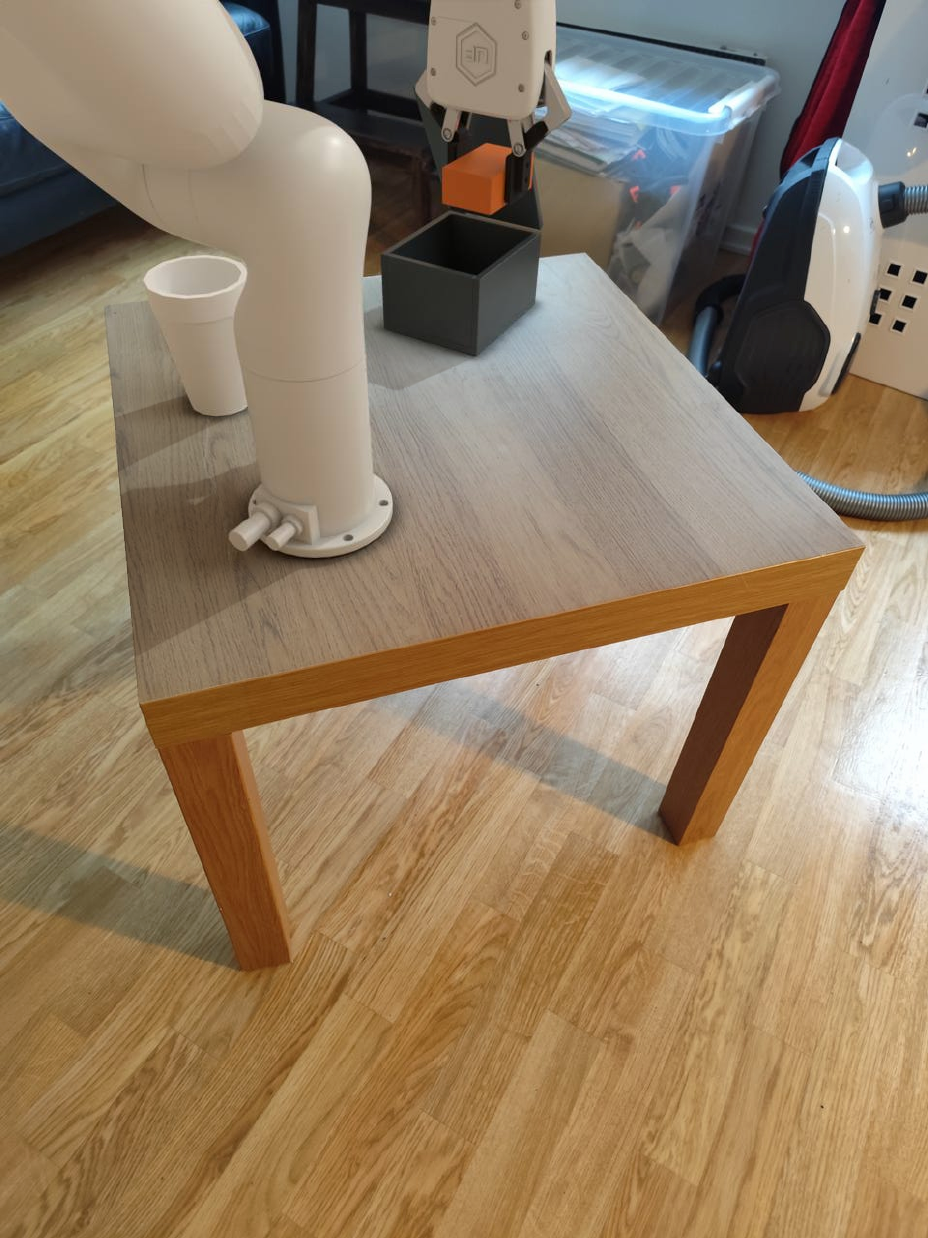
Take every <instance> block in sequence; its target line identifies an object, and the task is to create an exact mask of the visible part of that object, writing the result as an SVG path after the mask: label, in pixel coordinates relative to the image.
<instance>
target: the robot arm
mask: <svg viewBox="0 0 928 1238" xmlns="http://www.w3.org/2000/svg"><path fill="white" fill-rule="evenodd" d="M556 7H557V6H556V0H431V2H430V11H429V22H428V37H427V59H426V68H425V70H424V71H423V72H422V74H421V76H420V77H419V79H418V81H416V82H417V84H416V86H415V91H416V93H417V95H418V96H419V97H420V99H421V100H422V101H423V102H424V104H425V105H426V106H427V107H428V108H430V112H431V114H432V116H433V117H434V119H435V121H436V122H437V124H438V125H439V127H440V128H441V130H442V137H443V139H444V140H445V141H447V165H448V164H450V163H452V162H453V161H455V160H457V159H459V158H461V157H462V156H464V155H466V154H468V153H470V152H471V151H473V141H474V140H473V138H472V134H468V128H469V124H470V120H471V116H472V113H477V114H482V115H487V116H492V117H498V118H503V119H507V122H508V128H509V134H510V140H511V146H512V153H511V154H509V155H507V156H506V161H505V170H506V175H505V194H504V201H505V203H507V204H513V203H514V202H516V201H517V200H519V199H520V198H522V197H523V196H524V195H525V193H526V191H527V190H528V188H529V185H530V174H531V160H532V153H533V150H534V149H536V148H537V147H538V145H539V144H540V143H542V141H543V140H545V139H546V137H548V136H549V134H551V133H552V132H553V131H554V130H556V129H557V128H559V127H560V126H561V125H563V124H564V123H566V122H568V121H569V119H571V118H572V116H573V115H572V114H573V111H572V108H571V106H570V104H569V102H568V100H567V97H566V96H565V94H564V91H563V89H562V87H561V85H560V83H559V81H558V79H557V77H556V74H555V72H556V71H555V70H556V51H557V49H556V47H557V43H556V42H557V15H556V14H557V11H556V10H557V9H556ZM264 96H265V94H264V86H263V81H262V77H261V71H260V69H259V67H258V63H257V61H256V58H255V56H254V53H253V51H252V49H251V47H250V45H249V43H248V41H247V40H246V38H245V36H244V35H243V33H242V31H241V30H240V28H239V26H238V25H237V23H236V22H235V20H234V19H233V17H232V16H231V14H230V13H229V11H228V10H227V9H226V8H225V7H224V5H223V4H222V3H221V1H220V0H0V102H1V103H2V105H4V107H5V108H6V110H7V111H8V112H9V113H10V114H11V116H12V117H13V118H14V119H15V120H16V121H17V122H18V123H19V124H20V125H21V126H22V127H23V128H24V129H25V130H26V131H27V132H28V133H29V134H30V135H32V137H34V138H35V139H37V140H38V141H39V142H41V143H42V144H43V145H44V146H46V147H47V148H48V149H50V151H52V152H53V153H55V154H56V155H57V156H58V157H60V159H62V160H64V161H65V162H66V163H67V164H69V165H70V166H72V167H73V168H74V169H76V170H77V171H78V172H79V173H80V174H82V175H83V176H85V177H86V178H87V179H88V180H90V181H91V182H93V184H95V185H96V186H98V187H99V188H100V189H102V191H104V192H106V193H107V194H109V195H110V196H111V197H112V198H114V199H115V200H116V201H117V202H119V203H121V205H123V206H124V207H126V208H127V209H128V210H130V211H131V212H132V213H134V214H136V216H138V217H140V218H141V219H143V220H144V221H146V222H147V223H149V224H151V225H152V226H154V227H156V228H157V229H159V230H161V231H163V232H166V233H167V234H170V235H172V236H175V237H179V238H182V239H183V240H187V241H190V242H194V243H197V244H200V245H202V246H206V247H208V248H212V249H214V250H218V251H221V252H223V253H226V254H228V255H230V256H233V257H235V258H239V259H241V261H243V262H244V264H245V268H246V270H247V278H246V282H245V285H244V288H243V290H242V293H241V295H240V297H239V299H238V302H237V305H236V308H235V312H234V322H233V323H234V337H235V343H236V349H237V355H238V359H239V362H240V367H241V373H242V378H243V384H244V389H245V394H246V400H247V405H248V406H247V411H248V416H249V421H250V428H251V432H252V438H253V443H254V448H255V453H256V454H255V455H256V459H257V460H256V461H257V464H258V472H259V475H260V481H261V483H260V484H259V485H258V486H257V488H256V489H255V490H254V491H253V493H252V495H251V497H250V499H249V502H248V506H247V511H248V518H247V519H245V520H243V521H242V522H240V523H239V524H238V525H236V527H234V528H233V529H232V530H230V531H229V533H228V540H229V542H230V543H231V545H232V546H233V547H234V548H235V549H237V550H238V551H240V552H246V551H248V549H250V548H251V547H252V546H253V545H254V544H255V543H256V542H258V541H259V540H260V541H261V542H263V543H264V544H265V545H267V546H268V548H269V549H271V550H272V551H275V552H278V551H279V552H280V553H283V554H286V555H291V556H295V557H300V558H311V559H312V558H314V559H317V558H331V557H336V556H342V555H346V554H348V553H352V552H355V551H357V550H359V549H361V548H363V547H366V546H369V544H370V543H372V542H374V541H375V540H376V539H378V538H379V537H380V536H381V535H382V534H383V533H384V532H385V531H386V530H387V528H388V526H389V524H390V523H391V520H392V516H393V515H394V514H393V513H394V507H393V506H394V505H393V504H394V503H393V502H394V501H393V496H392V493H391V490H390V489H389V486H388V485H387V484H386V482H385V481H384V480H383V479H382V478H381V477H379V476H378V475H377V474H376V473H374V463H373V446H372V444H373V443H372V430H371V414H370V413H371V411H370V398H369V397H370V396H369V383H368V381H369V379H368V367H367V366H368V363H367V349H366V339H365V337H366V335H365V320H364V272H365V271H364V270H365V258H366V248H367V240H368V233H369V227H370V221H371V211H372V210H371V209H372V180H371V175H370V170H369V167H368V163H367V161H366V159H365V158H366V157H365V156H364V154H363V152H362V150H361V149H360V147H359V146H358V144H357V143H356V141H355V140H354V139H353V138H352V137H351V136H350V135H349V134H348V133H347V132H346V131H345V130H344V129H343V128H341V126H338V125H337V124H336V123H334V122H333V121H332V120H329V119H327V118H325V117H324V116H321V115H319V114H317V113H315V112H312V111H310V110H307V109H304V108H300V107H297V106H293V105H289V104H284V103H280V102H276V101H271V100H267V99H265V97H264ZM545 107H546V109H547V112H546V114H545V116H543V117H542V118H541V119H540V120H538V121H537V119H536V113H535V111H536V109H542V108H545Z"/></svg>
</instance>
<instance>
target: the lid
mask: <svg viewBox="0 0 928 1238" xmlns="http://www.w3.org/2000/svg"><path fill="white" fill-rule="evenodd" d="M417 82H418V81H415V83H414V84H413V86H412V88H413V93H414V96H415V100H416V103H417V106H418V110H419V113H420V116H421V120H422V124H423V128H424V130H425V131H424V132H425V134H426V137H427V140H428V141H427V142H428V144H429V147H430V151H431V154H432V155H431V156H432V158H433V161H434V165H435V167H436V171H437V175H438V178H439V183H440V186H442V168H443V167H444V166H446V165H447V141H445V140H444V139H443V137H442V130H441V128H440V127H439V125H438V124H437V122H436V121H435V119H434V117H433V116H432V114H431V112H430V108H428V107H427V106H426V105H425V104H424V102H423V101H422V100H421V99H420V97H419V96H418V95H417V93H416V91H415V86H416V84H417ZM468 134H472V138H473V140H474V141H473V150H475V149H477V148H478V147H480V146H482V145H484V144H485V143H489V144H494V145H498V146H503V147H508V148H512V146H511V140H510V134H509V128H508V122H507V119H503V118H498V117H492V116H487V115H482V114H477V113H472V116H471V120H470V124H469V128H468ZM446 206H447V209H448V210H451V211H455V212H459V213H464V214H468V215H472V216H476V217H481V218H485V219H489V220H493V221H498V222H502V223H506V224H510V225H515V226H519V227H523V228H527V229H532V230H536V231H542V229H543V227H544V220H543V215H542V214H543V213H542V209H541V207H542V206H541V201H540V194H539V188H538V182H537V176H536V170H535V164H534V161H533V170H532V184H531V188H530V189H528V190H527V191H526V193H525V195H524V196H523V197H522V198H520V199H519V200H517V201H516V202H514V203H513V204H506V205H505V206H503V207H502V208H500V209H499V210H497V211H496V212H494V213H493V214H491V215H488V214H484V213H479V212H475V211H471V210H467V209H463V208H459V207H455V206H450V205H446Z"/></svg>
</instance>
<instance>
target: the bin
mask: <svg viewBox="0 0 928 1238" xmlns="http://www.w3.org/2000/svg"><path fill="white" fill-rule="evenodd" d="M542 235H543V233H542V232H541V231H539V230H535V229H530V228H526V227H522V226H518V225H514V224H509V223H505V222H501V221H497V220H492V219H488V218H484V217H480V216H475V215H471V214H467V213H463V212H459V211H455V210H448V211H446V212H445V213H443V214H441V215H440V216H438V217H437V218H435V219H434V220H432V221H430V222H429V223H427V224H426V225H424V226H423V227H421V228H419V229H418V230H416V231H414V232H413V233H411V234H409V235H408V236H406V237H405V238H403V239H401V240H400V241H399V242H397V243H395V244H393V245H392V246H390V247H389V248H387V249H386V250H384V251H382V252H381V253H380V277H381V300H382V321H383V322H382V323H383V329H384V330H387V331H391V332H393V333H397V334H401V335H404V336H408V337H410V338H415V339H417V340H421V341H425V342H427V343H431V344H435V345H437V346H441V347H445V348H447V349H451V350H454V351H458V352H462V353H465V354H468V355H471V356H475V357H477V356H478V355H479V354H481V353H482V352H483V351H484V350H485V349H486V348H488V346H490V345H491V344H492V343H493V342H495V340H497V338H499V337H500V336H501V335H502V334H503V333H504V332H506V330H508V329H509V328H510V327H512V325H514V323H516V322H517V321H518V320H519V319H520V318H522V316H523V315H525V314H526V313H527V312H528V311H529V310H530V309H532V307H534V306H535V305H536V298H537V287H538V278H539V277H538V276H539V267H540V266H539V265H540V254H541V243H542Z"/></svg>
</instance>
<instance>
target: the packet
mask: <svg viewBox="0 0 928 1238" xmlns="http://www.w3.org/2000/svg"><path fill="white" fill-rule="evenodd" d="M511 153H512V148H508V147H503V146H498V145H494V144H489V143H485V144H484V145H482V146H480V147H478V148H477V149H475V150H473V151H471V152H470V153H468V154H466V155H464V156H462V157H461V158H459V159H457V160H455V161H453V162H452V163H450V164H448V165H446V166H444V167H443V168H442V185H441V203H442V204H443V205H446V206H447V205H450V206H455V207H459V208H463V209H467V210H471V211H475V212H479V213H484V214H488V215H491V214H493V213H494V212H496V211H497V210H499V209H500V208H502V207H503V206H505V205H506V204H507V203H505V201H504V194H505V175H506V170H505V161H506V156H507V155H509V154H511ZM534 156H535V153H534V152H532V160H531V174H530V185H529V188H528V189H530V188H531V184H532V170H533V162H534Z"/></svg>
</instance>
